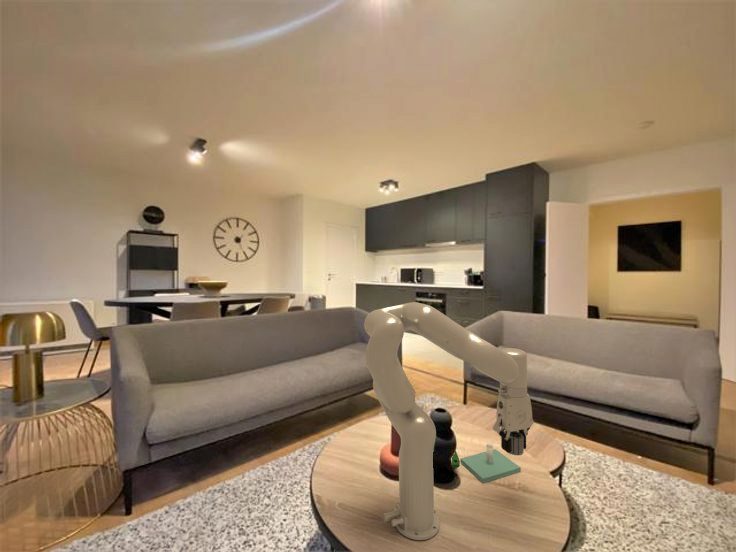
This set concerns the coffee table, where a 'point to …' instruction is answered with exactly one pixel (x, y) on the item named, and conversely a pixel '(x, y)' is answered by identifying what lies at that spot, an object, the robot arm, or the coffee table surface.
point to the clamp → (455, 461)
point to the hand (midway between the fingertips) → (513, 448)
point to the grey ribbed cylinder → (516, 443)
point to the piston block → (490, 465)
